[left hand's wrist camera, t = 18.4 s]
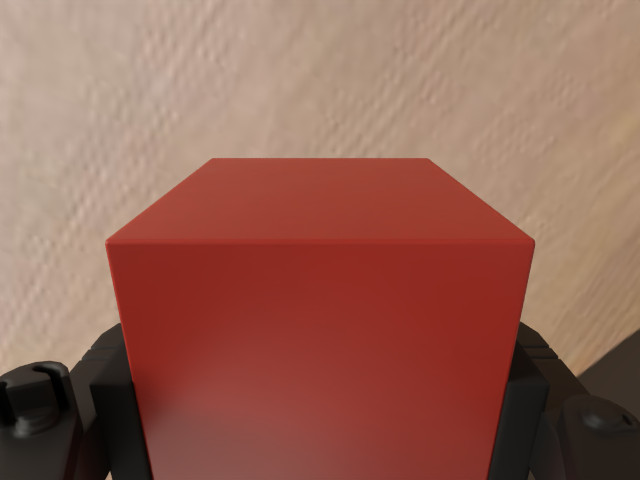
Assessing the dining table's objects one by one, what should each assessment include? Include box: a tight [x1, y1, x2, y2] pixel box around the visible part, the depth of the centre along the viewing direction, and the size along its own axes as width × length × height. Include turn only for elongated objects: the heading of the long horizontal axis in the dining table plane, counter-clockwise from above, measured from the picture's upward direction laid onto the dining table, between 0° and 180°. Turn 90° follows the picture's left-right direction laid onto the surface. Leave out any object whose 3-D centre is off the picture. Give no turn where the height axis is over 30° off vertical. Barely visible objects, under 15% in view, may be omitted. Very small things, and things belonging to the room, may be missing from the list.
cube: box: [105, 158, 535, 480], centre depth 12 cm, size 8×7×7 cm
